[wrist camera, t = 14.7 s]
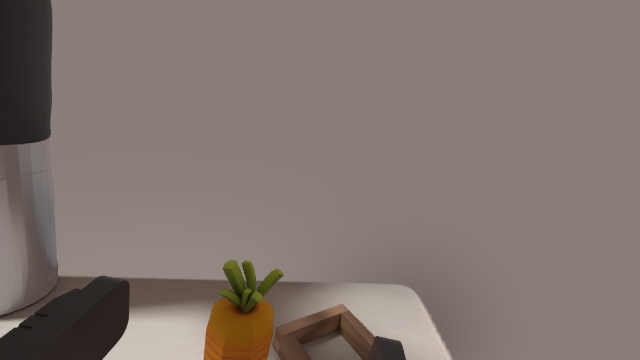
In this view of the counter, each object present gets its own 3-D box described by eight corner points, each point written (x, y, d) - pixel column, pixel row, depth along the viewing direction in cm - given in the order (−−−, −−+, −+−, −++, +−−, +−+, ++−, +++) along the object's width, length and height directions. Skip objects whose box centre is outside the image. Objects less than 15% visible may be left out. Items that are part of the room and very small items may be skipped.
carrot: (265, 402, 26) (296, 256, 22) (237, 466, 22) (270, 294, 18) (216, 381, 27) (237, 236, 23) (178, 438, 23) (197, 268, 18)
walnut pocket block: (323, 428, 25) (329, 407, 25) (272, 345, 32) (276, 327, 32) (394, 382, 31) (400, 363, 30) (338, 320, 38) (342, 303, 37)
